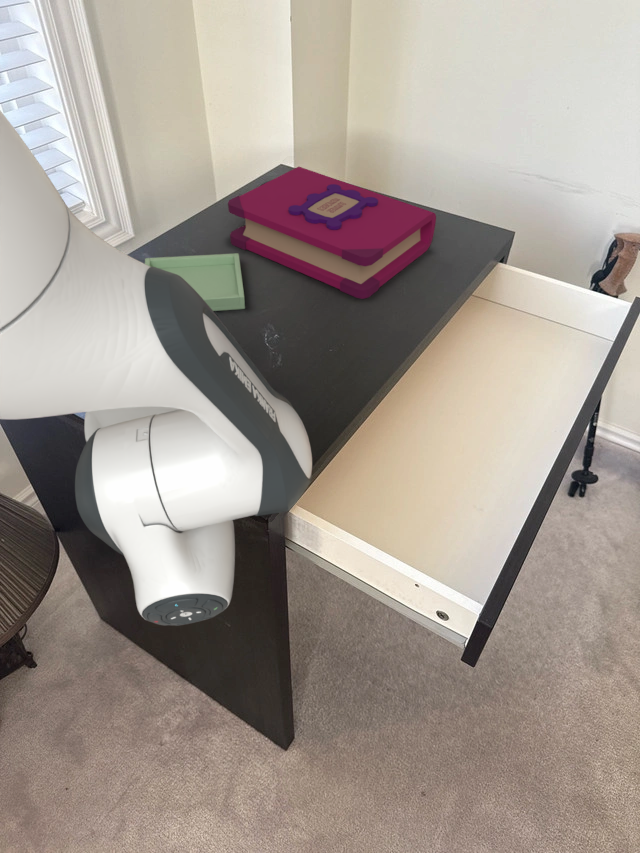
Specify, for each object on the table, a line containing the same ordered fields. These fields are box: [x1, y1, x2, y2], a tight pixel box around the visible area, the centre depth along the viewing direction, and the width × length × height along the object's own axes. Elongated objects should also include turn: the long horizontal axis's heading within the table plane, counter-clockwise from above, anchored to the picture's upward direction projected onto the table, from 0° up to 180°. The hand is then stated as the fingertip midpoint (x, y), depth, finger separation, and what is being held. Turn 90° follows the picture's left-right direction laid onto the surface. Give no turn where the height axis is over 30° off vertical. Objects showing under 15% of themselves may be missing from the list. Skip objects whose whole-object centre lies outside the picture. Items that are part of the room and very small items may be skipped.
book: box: [227, 166, 437, 300], centre depth 105 cm, size 21×28×8 cm
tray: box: [144, 252, 246, 312], centre depth 96 cm, size 15×13×2 cm
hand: (184, 380), depth 72 cm, fingers open, 8 cm apart
